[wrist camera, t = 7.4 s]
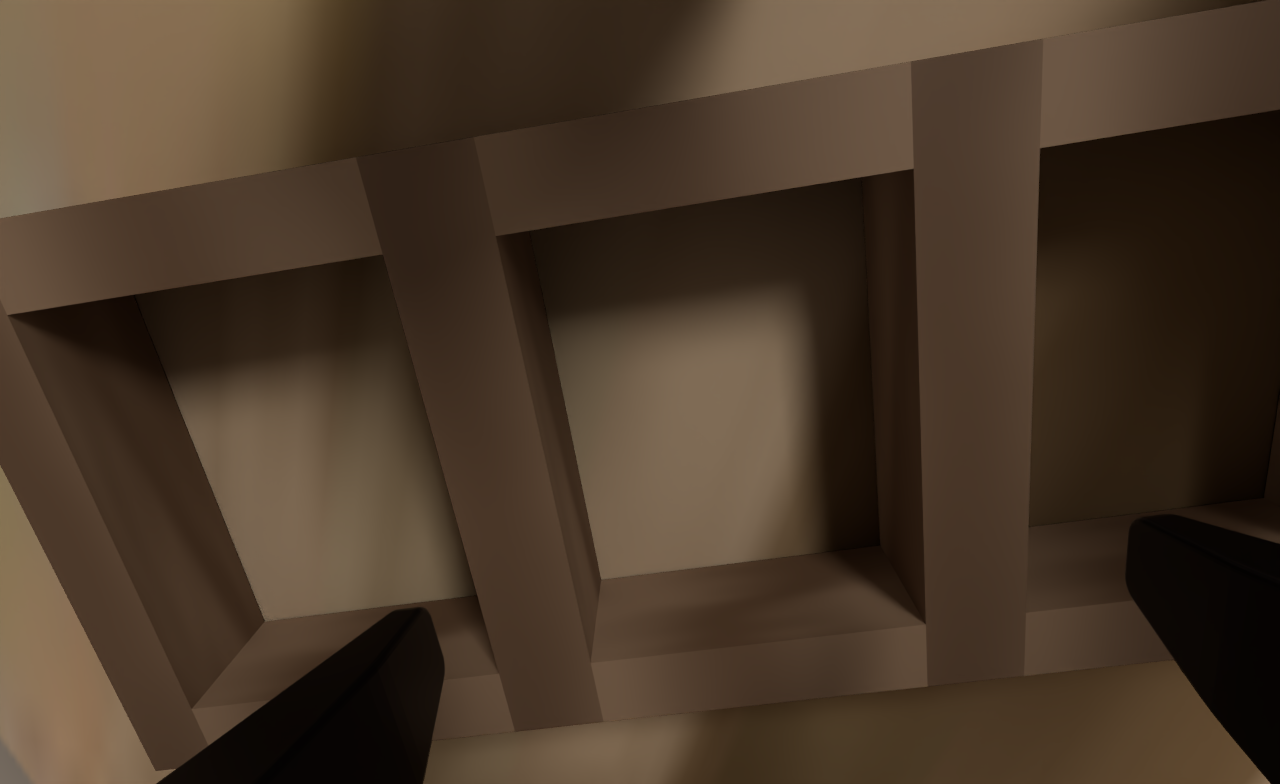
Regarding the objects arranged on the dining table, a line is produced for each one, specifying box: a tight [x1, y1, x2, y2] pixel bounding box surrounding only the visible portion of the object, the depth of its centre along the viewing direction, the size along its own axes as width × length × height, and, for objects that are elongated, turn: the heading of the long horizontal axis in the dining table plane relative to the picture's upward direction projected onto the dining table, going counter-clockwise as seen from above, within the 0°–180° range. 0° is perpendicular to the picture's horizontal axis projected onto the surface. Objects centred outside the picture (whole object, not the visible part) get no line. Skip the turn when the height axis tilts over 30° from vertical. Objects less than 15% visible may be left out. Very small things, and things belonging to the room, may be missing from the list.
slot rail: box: [0, 0, 1280, 771], centre depth 14 cm, size 28×12×3 cm, turn 99°
